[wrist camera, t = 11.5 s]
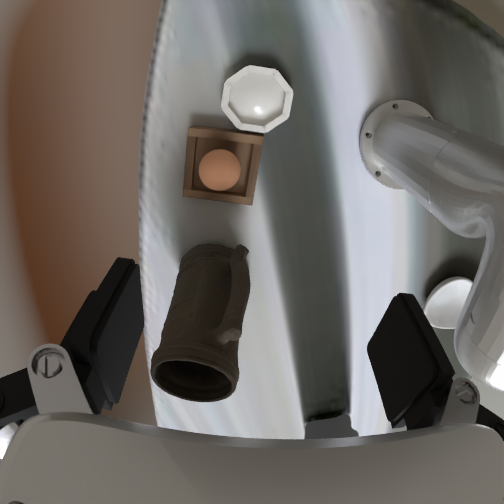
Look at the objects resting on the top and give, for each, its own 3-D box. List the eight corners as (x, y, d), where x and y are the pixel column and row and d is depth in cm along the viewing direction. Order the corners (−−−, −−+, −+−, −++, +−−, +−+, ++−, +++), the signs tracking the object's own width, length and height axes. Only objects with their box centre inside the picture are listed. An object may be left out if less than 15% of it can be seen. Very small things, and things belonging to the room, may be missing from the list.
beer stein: (231, 309, 51) (223, 414, 34) (171, 287, 49) (139, 389, 32) (272, 236, 43) (283, 343, 26) (202, 207, 41) (167, 305, 24)
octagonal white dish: (294, 73, 32) (297, 73, 30) (283, 134, 36) (285, 136, 34) (228, 63, 31) (227, 62, 29) (219, 124, 35) (218, 126, 34)
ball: (245, 148, 36) (242, 157, 32) (239, 185, 39) (235, 199, 34) (205, 143, 36) (196, 151, 32) (201, 180, 38) (192, 193, 34)
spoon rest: (407, 310, 52) (421, 337, 46) (439, 260, 46) (458, 285, 40) (475, 323, 55) (488, 344, 49) (503, 284, 49) (519, 304, 43)
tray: (263, 134, 36) (263, 137, 34) (252, 199, 41) (252, 205, 39) (191, 125, 35) (188, 128, 34) (186, 191, 40) (182, 196, 38)
